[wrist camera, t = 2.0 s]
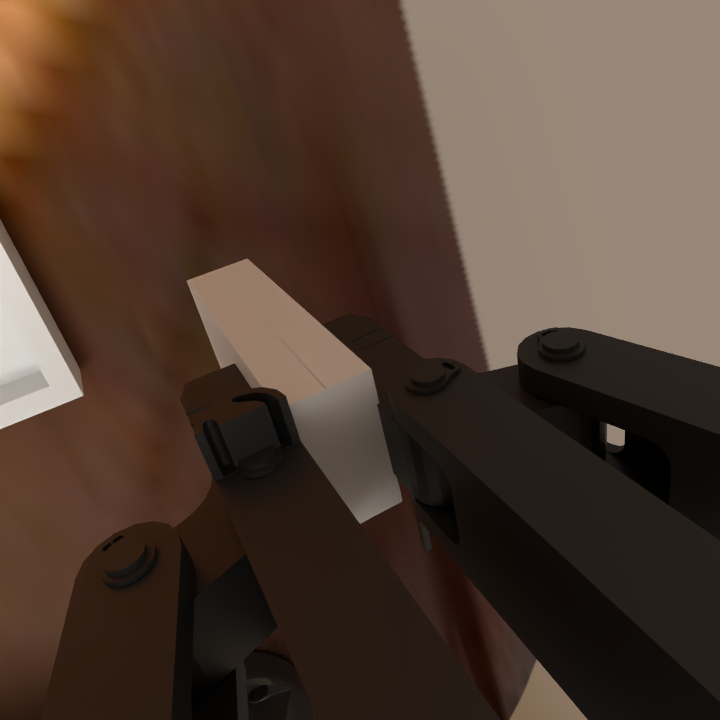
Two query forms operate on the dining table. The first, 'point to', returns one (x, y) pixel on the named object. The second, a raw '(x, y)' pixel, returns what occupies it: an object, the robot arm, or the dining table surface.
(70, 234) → the dining table surface
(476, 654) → the dining table surface
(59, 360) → the white rectangular slab
